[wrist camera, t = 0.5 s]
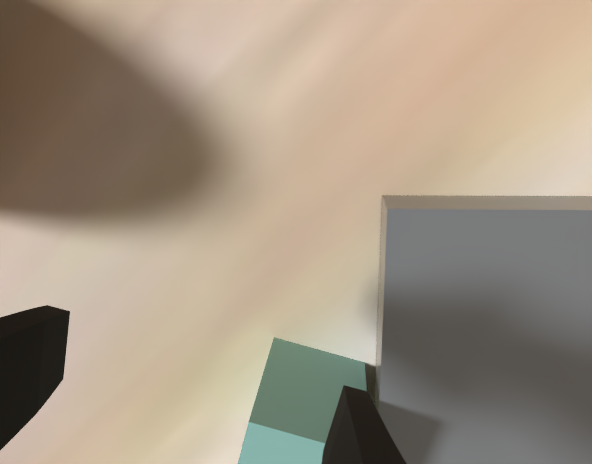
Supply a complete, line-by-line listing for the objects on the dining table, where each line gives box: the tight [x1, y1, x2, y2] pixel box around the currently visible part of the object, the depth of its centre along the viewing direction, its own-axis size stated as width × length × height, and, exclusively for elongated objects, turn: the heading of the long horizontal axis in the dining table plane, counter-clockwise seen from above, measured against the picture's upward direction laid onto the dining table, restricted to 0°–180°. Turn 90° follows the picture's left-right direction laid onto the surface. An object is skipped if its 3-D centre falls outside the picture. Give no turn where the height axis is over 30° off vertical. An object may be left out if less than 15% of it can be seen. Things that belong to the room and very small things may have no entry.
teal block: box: [238, 338, 367, 464], centre depth 19 cm, size 4×4×6 cm
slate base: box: [374, 196, 592, 464], centre depth 19 cm, size 12×12×2 cm
